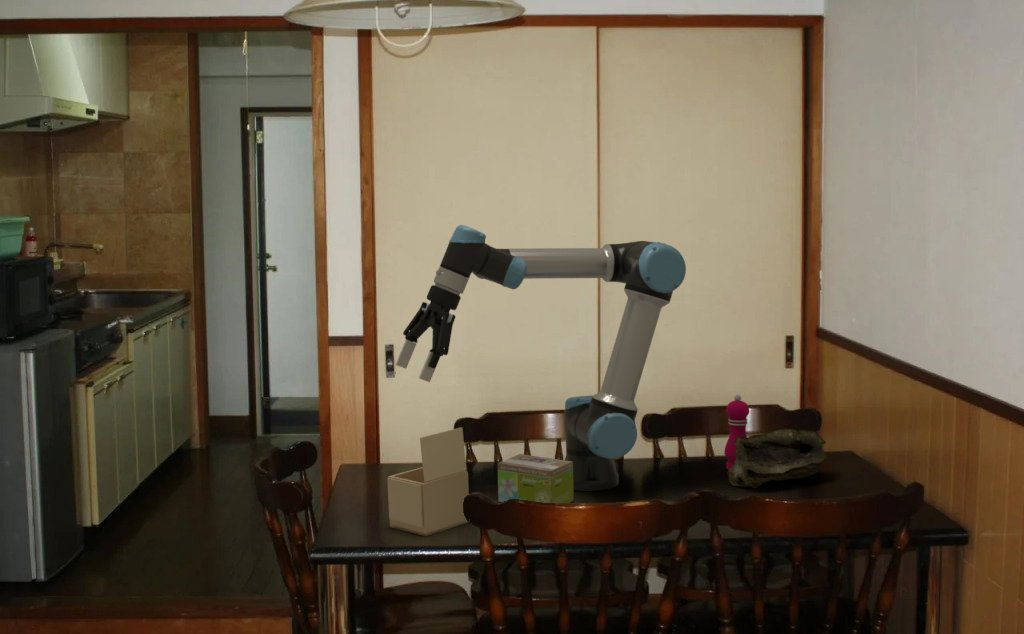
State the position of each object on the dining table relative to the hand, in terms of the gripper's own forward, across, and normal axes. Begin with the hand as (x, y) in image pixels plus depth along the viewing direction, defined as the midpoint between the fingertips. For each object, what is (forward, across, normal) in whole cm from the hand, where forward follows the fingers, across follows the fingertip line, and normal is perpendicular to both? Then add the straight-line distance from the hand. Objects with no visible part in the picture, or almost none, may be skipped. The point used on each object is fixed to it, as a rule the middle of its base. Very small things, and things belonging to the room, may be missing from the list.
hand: (412, 373), depth 283 cm
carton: (+31, +10, +14) cm, 35 cm away
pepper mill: (-7, +10, +97) cm, 97 cm away
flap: (+18, +15, +11) cm, 26 cm away
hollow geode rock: (-8, +27, +96) cm, 100 cm away
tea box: (+21, +23, +33) cm, 45 cm away
